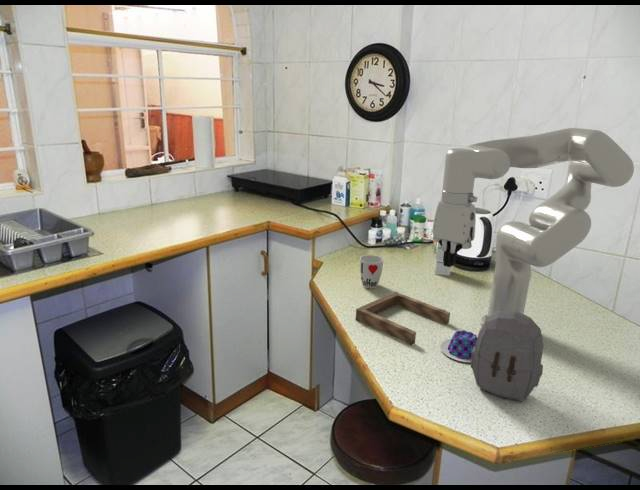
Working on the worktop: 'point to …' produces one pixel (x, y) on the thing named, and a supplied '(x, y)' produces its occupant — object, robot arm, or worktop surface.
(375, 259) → the cup
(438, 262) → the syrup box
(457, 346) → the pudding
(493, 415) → the worktop surface
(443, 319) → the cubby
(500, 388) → the small grey backpack
